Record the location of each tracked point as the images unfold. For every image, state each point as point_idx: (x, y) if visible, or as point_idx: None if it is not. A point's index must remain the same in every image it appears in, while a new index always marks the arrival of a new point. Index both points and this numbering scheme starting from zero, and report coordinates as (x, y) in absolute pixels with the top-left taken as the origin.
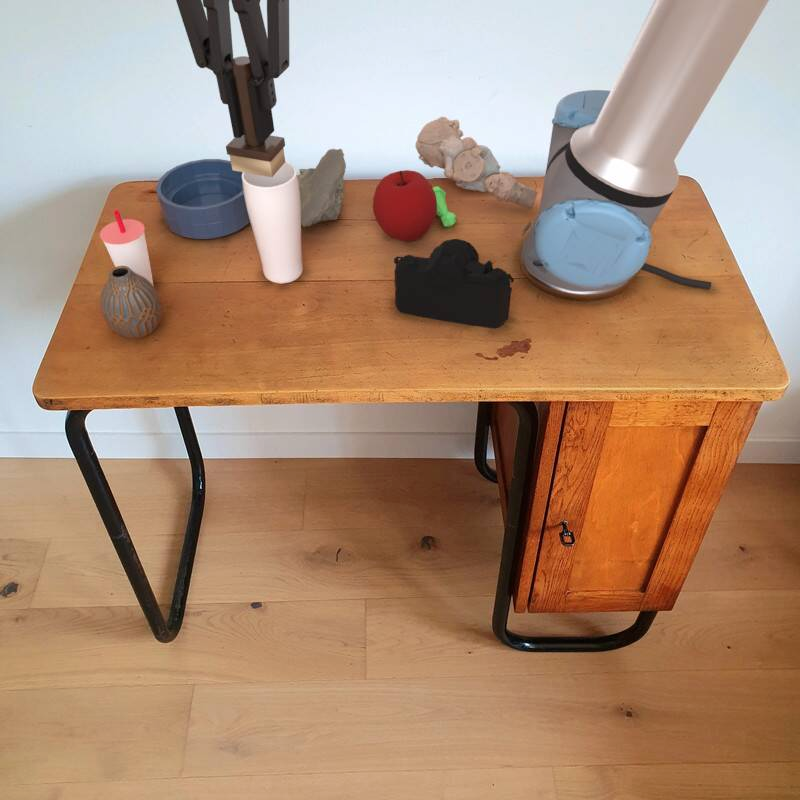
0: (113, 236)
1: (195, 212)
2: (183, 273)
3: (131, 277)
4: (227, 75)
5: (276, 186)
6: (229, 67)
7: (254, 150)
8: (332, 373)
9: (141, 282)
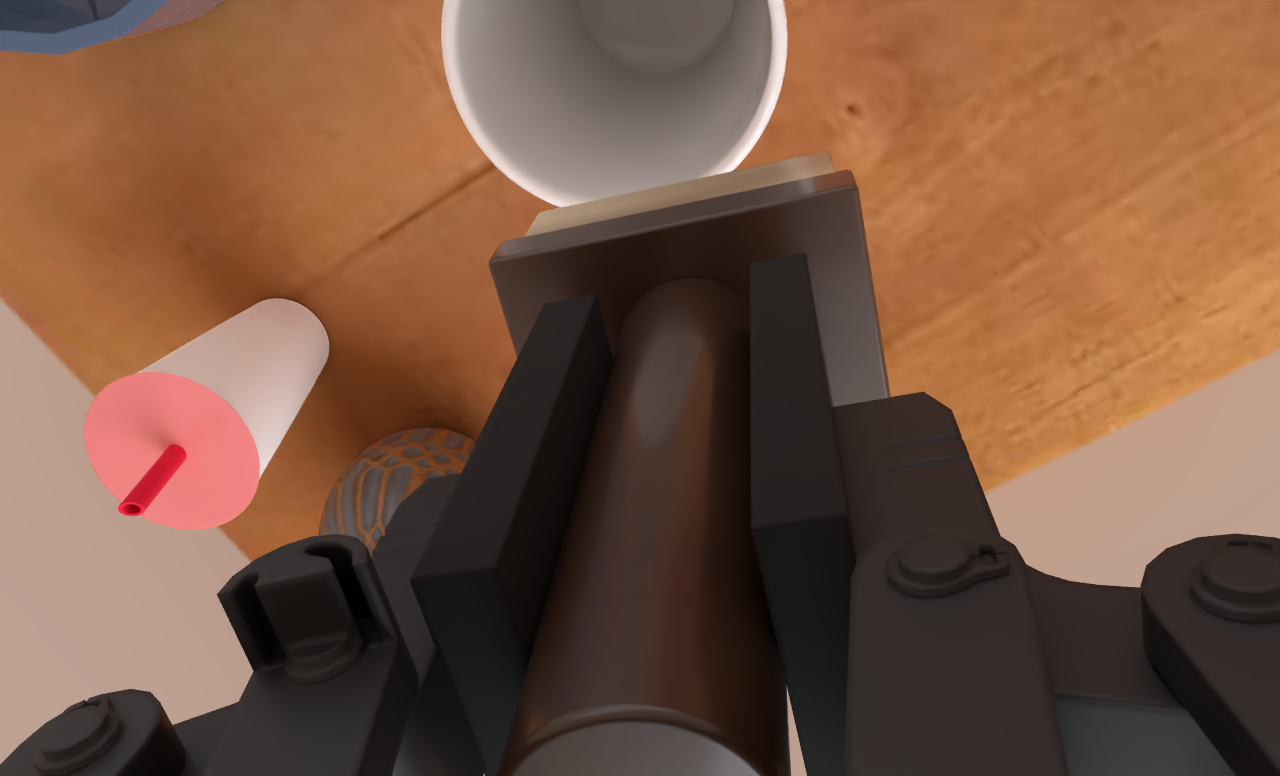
0: (176, 492)
1: (155, 16)
2: (333, 199)
3: None
4: (485, 748)
5: (747, 149)
6: (440, 729)
7: None
8: (1134, 349)
9: None
